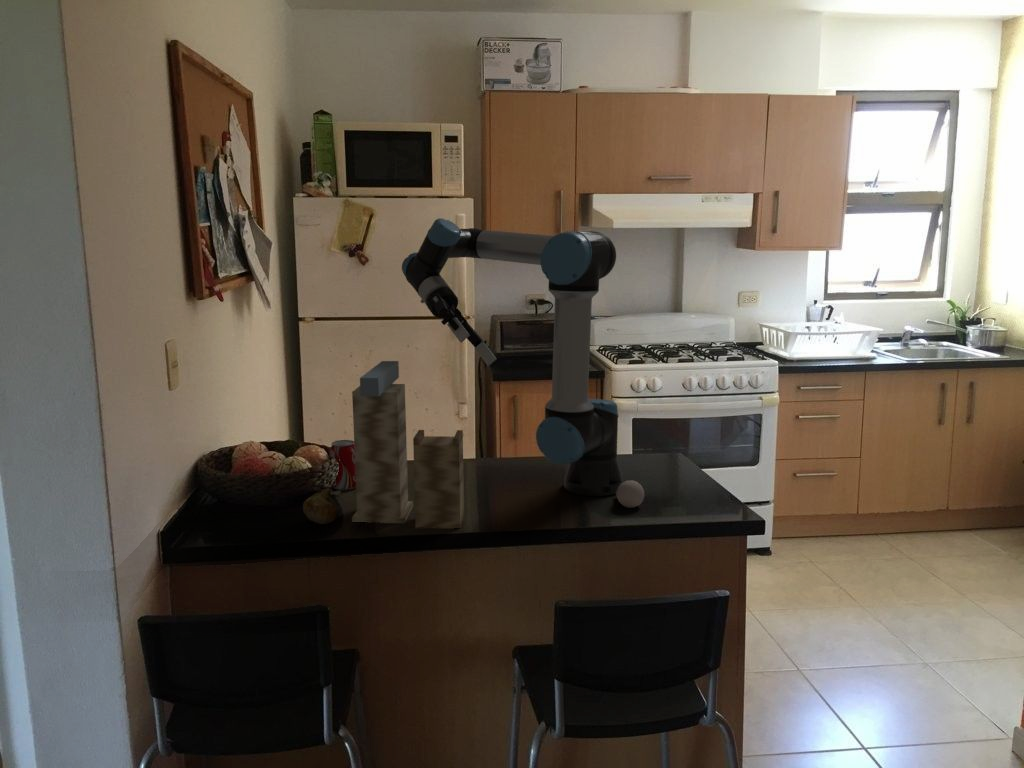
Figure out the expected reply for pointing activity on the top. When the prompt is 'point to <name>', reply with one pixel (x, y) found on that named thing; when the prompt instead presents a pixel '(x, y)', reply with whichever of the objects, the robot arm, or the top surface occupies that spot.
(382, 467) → the stand
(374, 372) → the rod
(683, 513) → the top surface
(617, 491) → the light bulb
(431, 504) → the rest block
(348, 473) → the soda can
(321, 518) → the onion
